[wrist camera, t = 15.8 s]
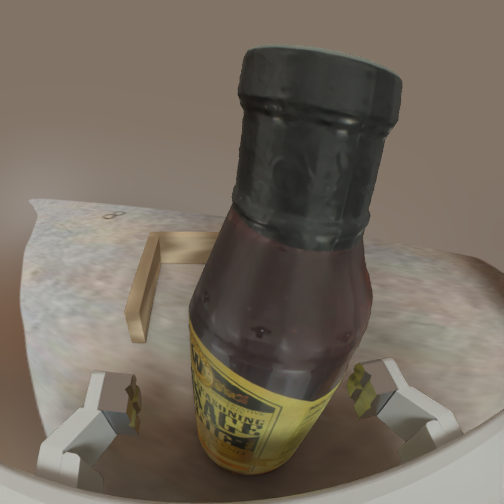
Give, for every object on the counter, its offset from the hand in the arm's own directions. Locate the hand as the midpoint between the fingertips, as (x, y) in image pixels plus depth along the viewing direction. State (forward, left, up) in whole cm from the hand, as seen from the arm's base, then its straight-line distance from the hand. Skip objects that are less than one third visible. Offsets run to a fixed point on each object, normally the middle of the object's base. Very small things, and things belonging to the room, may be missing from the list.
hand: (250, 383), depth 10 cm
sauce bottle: (-1, -2, -10) cm, 10 cm away
